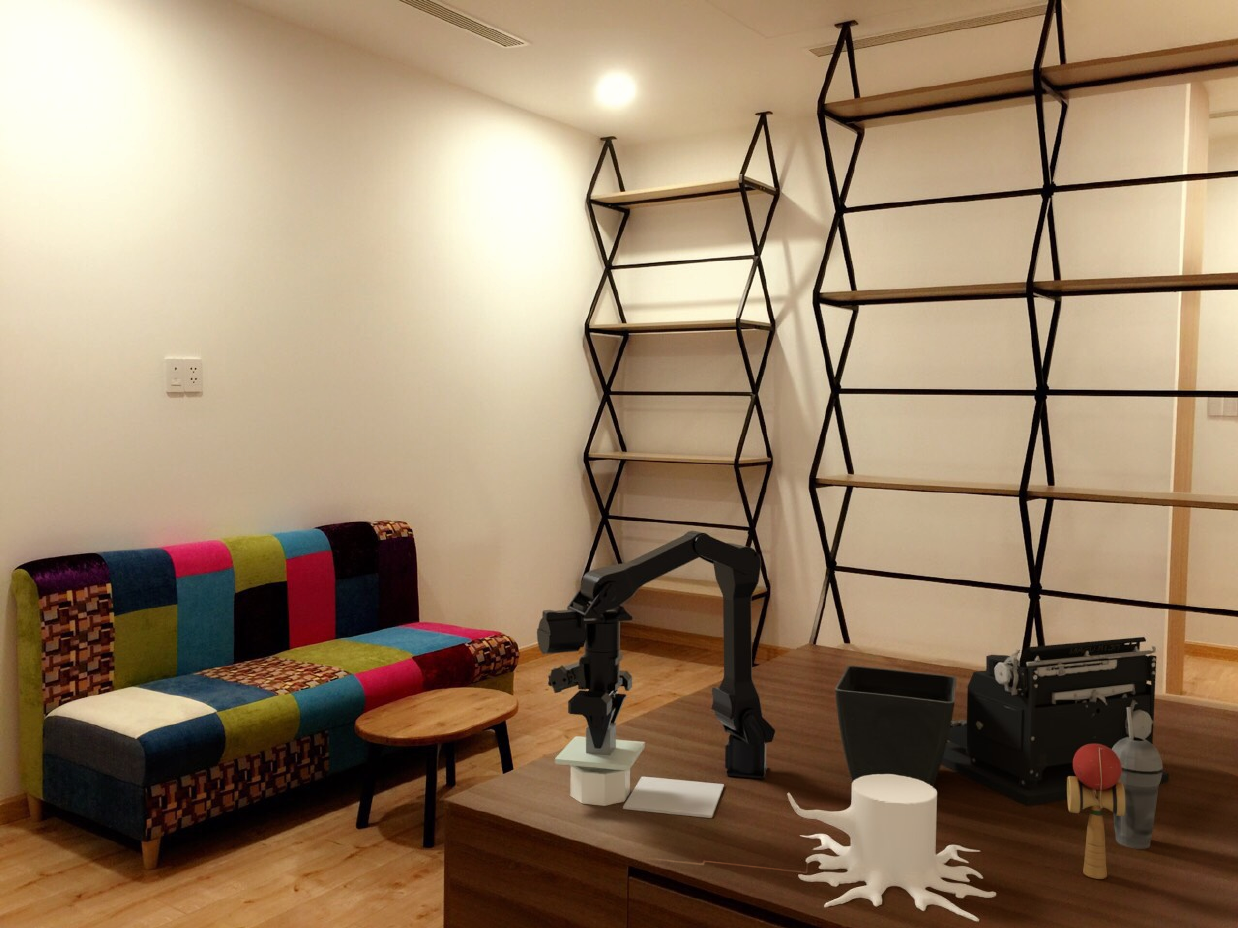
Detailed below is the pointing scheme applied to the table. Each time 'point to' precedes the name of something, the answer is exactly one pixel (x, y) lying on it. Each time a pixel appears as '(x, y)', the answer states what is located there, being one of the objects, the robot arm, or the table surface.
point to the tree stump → (890, 844)
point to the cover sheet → (600, 760)
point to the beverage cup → (1137, 789)
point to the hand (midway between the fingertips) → (601, 743)
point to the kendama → (1096, 799)
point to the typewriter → (1050, 714)
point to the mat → (675, 797)
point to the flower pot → (894, 721)
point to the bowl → (599, 785)
